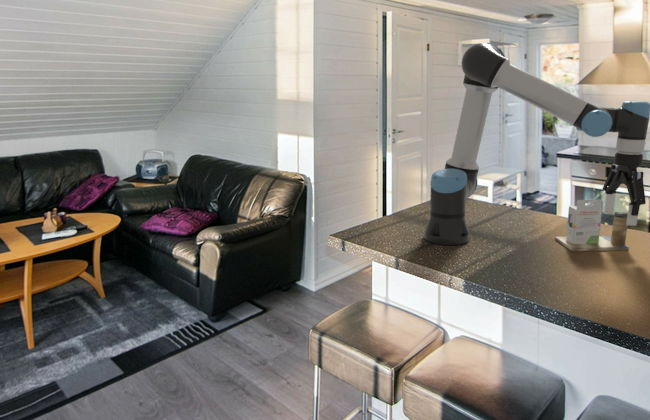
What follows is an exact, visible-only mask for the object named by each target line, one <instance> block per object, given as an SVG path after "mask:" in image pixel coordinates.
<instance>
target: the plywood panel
mask: <svg viewBox="0 0 650 420" xmlns="http://www.w3.org/2000/svg"><path fill="white" fill-rule="evenodd" d="M611 237H612V235H611V236H610V235H599V243H598V244H572V243H570V242H568V241H566V236H555V238H554V240H555V241H556V242H558V243H559V244H560V245H562V246H563V247H565V248H566V249H567V250H569V251H570V252H584V251H585V252H587V251H591V252H592V251H593V252H594V251H597V252H598V251H629V248H630V246H629V245H627V244H625V245H614V244H612V243H611Z"/></svg>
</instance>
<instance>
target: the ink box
mask: <svg viewBox="0 0 650 420" xmlns="http://www.w3.org/2000/svg"><path fill="white" fill-rule="evenodd" d="M589 203H591V204H590V205H588V204H589ZM586 204H587V205H586ZM602 207H603V199H602V198H600V199H599V198H598V199H577V201H576V205H569V206H568V214H567V224H566V225H567V226H566V235H565V237H566V241H568V242H570V243H572V244H598V243H599V236H600V232H601V222H602V212H603V209H602Z"/></svg>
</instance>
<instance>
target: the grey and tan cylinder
mask: <svg viewBox="0 0 650 420" xmlns="http://www.w3.org/2000/svg"><path fill="white" fill-rule="evenodd" d="M627 215H628V212H626V211H615V212H613V220H612V222H613V223H612V228H611V229H612V231H611V243H612V244H614V245H626V239H627V232H628V226H629V225H626V222H627Z"/></svg>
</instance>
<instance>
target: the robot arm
mask: <svg viewBox="0 0 650 420" xmlns="http://www.w3.org/2000/svg"><path fill="white" fill-rule="evenodd" d="M461 69H462V72H463V73H464V77H463V83H462V85H463V86H464V87H465V93H464V94H465V95H464V99H463V103H462V107H461V113H460V117H459V121H458V127H457V130H456V135H455V140H454V145H453V149H452V152H451V153H452V154H451V157H449V158H448V159H447V160H446V161H445V165H444V168H442V169H437V170H436V171H434V172H433V173H432V174H431V177H430V178H431V179H430V182H429V183H430V205H429V219H428V221H427V223H426V227H425V230H424V234H423V238H424V240H425V241H427V242H429V243H431V244H435V245H442V246H458V245H463V244H466V243H468V242H469V241H470V230H469V227H468V223H467V221H466V207H467V206H466V204H467V199H468V198H470V197H472V195H473V194H474V193H475V192H476V189H477V187H478V175H479V169H480V166H479V165H478V163H477V159H478V154H479V150H480V146H481V141H482V138H483V133H484V129H485V126H486V122H487V121H486V119H487V117H488V111H489V107H490V103H491V99H492V95H493V93H495V92H496V91H497V90H499V89H500V90H503V91H504V92H507V93H508V94H510V95H512V96H514V97H516V98H518V99H520V100H522V101H524V102H526V103H528V104H530V105H532V106H533V107H536V108H538V109H540V110H542V111H544V112H546V113H548V114H549V115H552V116H553V117H556V118H557V119H560V120H561V121H563V122H565V123H567V124H569V125H572V126H573V127H575V129H576V130H577V131H579V132H583V133H585V135H588V136H590V137H592V138H597V137H598V138H599V137H603V136H605V135H606V134H607V133H617V140H616V144H615V151H616V152H615V153H614V160H613V164H611V166H610V170H609V173H608V175H607V177H606V180H605V182H604V185H603V186H602V191H604V192H605V201H604V206H603V207H604V208H603V214H604V215H614V210H615V204H616V203H615V202H616V194H617V190H618V189H619V187H620V186H621V185H622V183H623V184H624V186H626V188H627V192H628V197H629V200H630V202H629V204H628V208H627V209H628V210H627V213H628V215H627V222H626V225H628V226H635V227H636V226H637V224H638V217H639V214H640V213H639V211H640V208H641V206H643V205H645V204H647V203H646V201H647V200H646V194H645V185H644V171H638V168H639V167H641V166H643V159H644V154H643V153H644V152H645V146H646V139H647V134H648V129H649V124H650V123H649V122H650V102H649V101H639V100H638V101H637V100H635V101H634V100H626V101H625V100H624V101H623V102H622V104H621V106H619V107H605V106H603V107H602V106H596V105H594V104H592V103H589V102H588V101H586V100H583V99H581V98H579V97H578V96H576V95H574V94H572V93H569V92H567V91H565V90H563V89H562V88H559V87H558V86H556V85H553V84H551V83H550V82H547V81H545V80H544V79H542V78H540V77H537V76H536V75H534V74H531V73H529V72H527V71H526V70H523V69H521V68H519V67H518V66H516V65H514V64H511V62H510V59H509V58H507V57H506V56H505V54H504V52H503V51H502V49H500V48H499V47H498V46H497V45H492V44H488V43H476V44H474V45H472V46H470V47H469V48H468V49H467V50H466V51H465V52H464V54H463V55H462V59H461Z"/></svg>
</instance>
